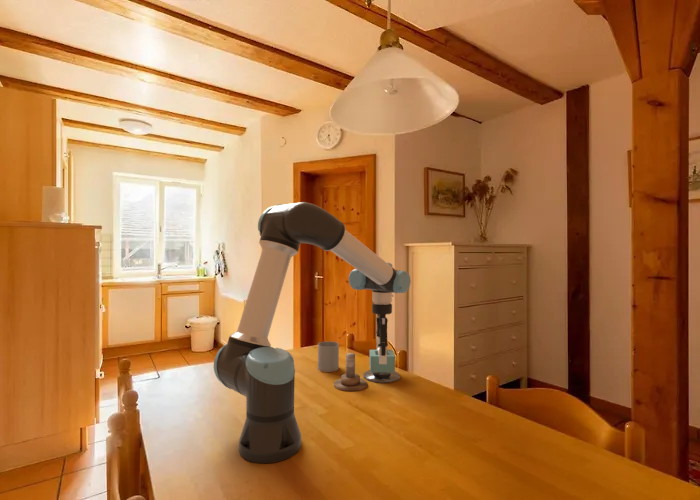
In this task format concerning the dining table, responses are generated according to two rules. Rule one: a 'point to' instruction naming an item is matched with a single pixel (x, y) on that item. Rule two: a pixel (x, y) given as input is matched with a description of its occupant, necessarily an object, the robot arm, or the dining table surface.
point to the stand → (350, 377)
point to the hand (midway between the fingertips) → (381, 358)
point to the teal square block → (382, 367)
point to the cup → (328, 356)
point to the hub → (381, 376)
